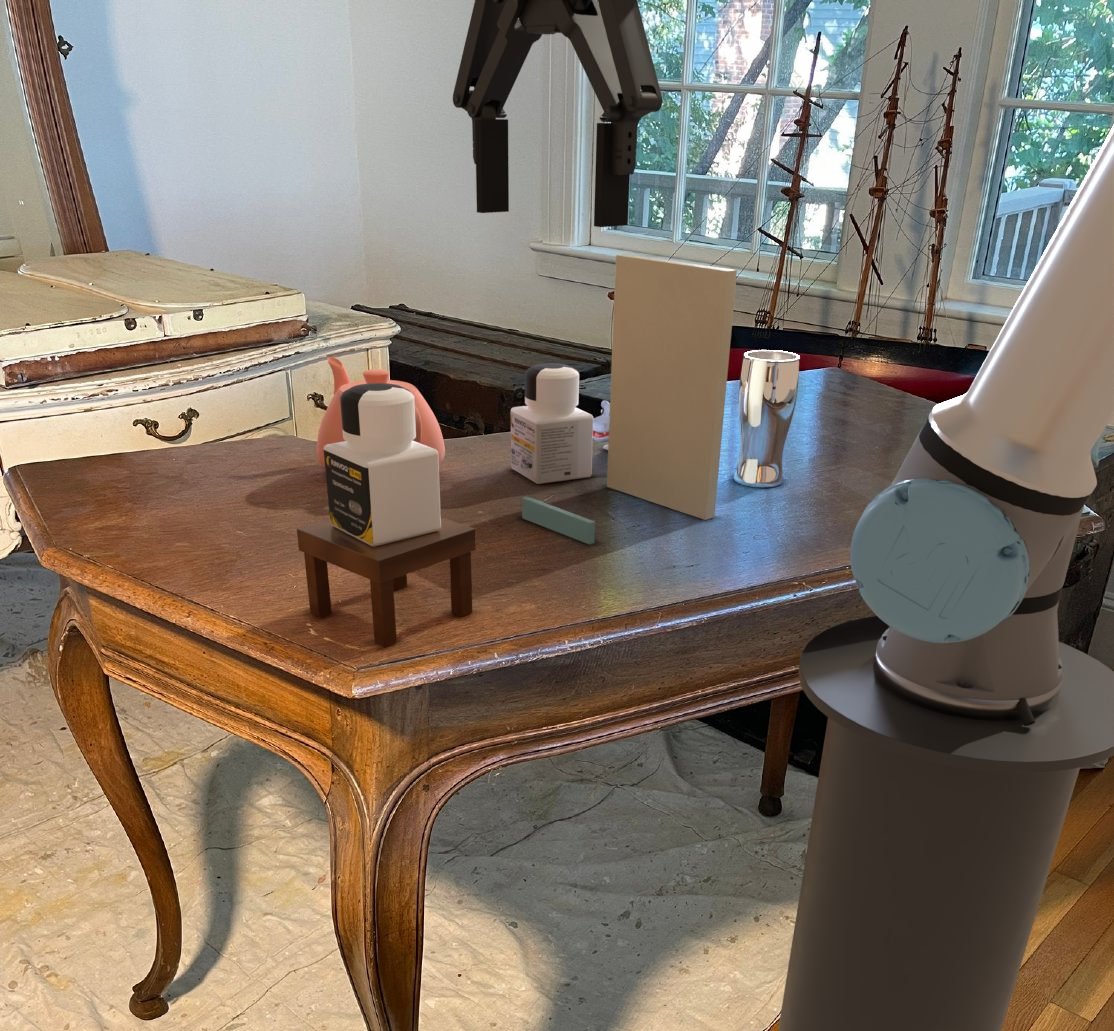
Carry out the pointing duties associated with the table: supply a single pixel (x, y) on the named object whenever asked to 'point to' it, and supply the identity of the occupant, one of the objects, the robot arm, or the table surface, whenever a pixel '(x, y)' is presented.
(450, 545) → the stool
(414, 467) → the medicine bottle
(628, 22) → the robot arm
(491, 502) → the table surface
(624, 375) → the beige and grey slabs
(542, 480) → the container
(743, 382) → the beer glass
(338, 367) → the teapot
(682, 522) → the table surface
